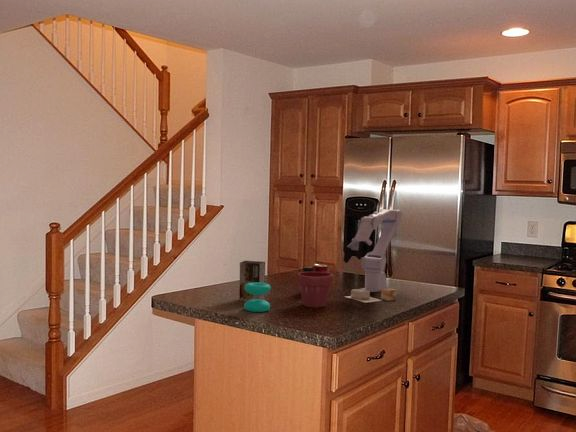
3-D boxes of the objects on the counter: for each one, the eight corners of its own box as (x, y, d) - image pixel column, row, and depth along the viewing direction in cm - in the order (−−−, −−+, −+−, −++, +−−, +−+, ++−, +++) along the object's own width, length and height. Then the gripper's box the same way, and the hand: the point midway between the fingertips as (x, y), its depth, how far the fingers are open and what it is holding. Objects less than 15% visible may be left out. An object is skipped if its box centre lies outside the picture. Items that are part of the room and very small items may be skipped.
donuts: (248, 281, 226) (273, 282, 224) (247, 306, 227) (272, 308, 225) (241, 285, 216) (267, 287, 214) (241, 311, 217) (267, 313, 215)
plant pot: (297, 301, 240) (298, 270, 239) (330, 302, 239) (331, 271, 238) (296, 308, 225) (297, 275, 225) (332, 309, 225) (333, 277, 224)
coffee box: (264, 300, 239) (265, 261, 239) (259, 303, 233) (260, 263, 232) (244, 298, 242) (245, 260, 242) (238, 300, 236) (239, 261, 235)
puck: (361, 295, 255) (361, 288, 255) (373, 298, 249) (373, 291, 248) (347, 296, 251) (347, 289, 251) (359, 300, 244) (359, 293, 244)
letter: (361, 294, 257) (361, 294, 257) (383, 300, 245) (383, 300, 245) (344, 296, 251) (344, 296, 251) (365, 302, 240) (365, 302, 239)
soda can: (326, 293, 258) (327, 266, 257) (310, 292, 260) (311, 265, 259) (328, 290, 265) (329, 264, 265) (313, 289, 267) (313, 263, 266)
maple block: (388, 298, 251) (388, 288, 251) (396, 300, 248) (396, 289, 247) (381, 299, 249) (381, 288, 248) (388, 301, 245) (388, 290, 245)
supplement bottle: (313, 292, 259) (314, 266, 258) (316, 295, 252) (317, 268, 251) (298, 292, 258) (299, 266, 257) (301, 295, 251) (302, 268, 250)
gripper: (345, 234, 260) (334, 257, 252) (368, 227, 249) (357, 250, 241) (354, 245, 262) (344, 267, 254) (378, 238, 251) (368, 261, 243)
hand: (351, 259), depth 247 cm, fingers open, 7 cm apart
